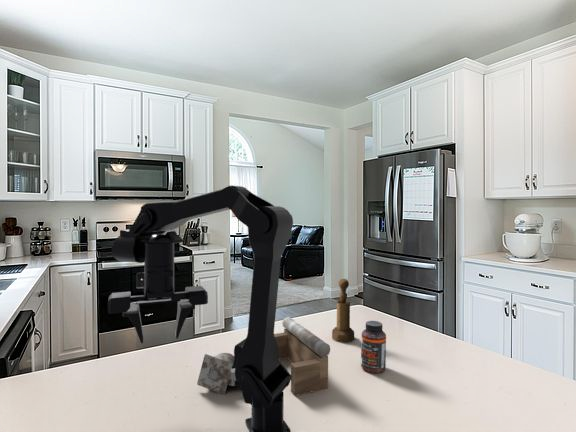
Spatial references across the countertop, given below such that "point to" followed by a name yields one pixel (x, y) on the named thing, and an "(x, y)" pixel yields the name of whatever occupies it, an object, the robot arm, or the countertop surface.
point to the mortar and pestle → (343, 316)
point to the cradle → (304, 357)
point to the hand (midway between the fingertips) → (159, 340)
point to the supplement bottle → (373, 347)
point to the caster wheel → (217, 372)
